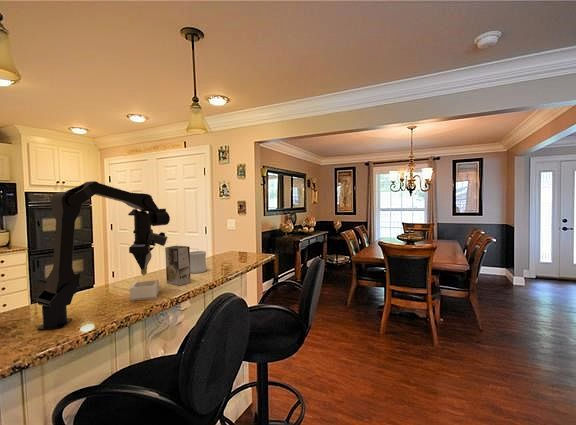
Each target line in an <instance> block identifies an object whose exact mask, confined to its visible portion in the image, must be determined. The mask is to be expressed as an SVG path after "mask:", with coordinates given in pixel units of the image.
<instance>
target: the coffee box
mask: <svg viewBox="0 0 576 425" xmlns="http://www.w3.org/2000/svg"><path fill="white" fill-rule="evenodd" d="M164 249H165V254H164V255H165V269H166V270H165V271H166V272H165V273H166V276H165V277H166V284H171V285H175V286H183V285H187V284H190V283H191V279H192V278H191V273H190V252H191V251H190V246H187V245H186V246H185V245H171V246H168V247H164Z"/></svg>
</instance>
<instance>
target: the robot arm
mask: <svg viewBox="0 0 576 425" xmlns="http://www.w3.org/2000/svg"><path fill="white" fill-rule="evenodd" d="M94 196H97V197H102V198H106V199H108V200H114V201H116V202H117V201H118V202H122V203H124V204H125V205H127V206H128V207H130V208H133V209H132V210H131V211H130V212H128V213H127V216H130V217H132V216H133V225H134V227H133V228H134V230H133V231H132V232H133V234H134V241H133V244H131V245H130V246H129V247H128V253H129V254H132V256H133V258H134V259H135V261H136V263H137V264H138V267H139V269H140V271H141V270H143V269H145V263H146V256H147V254H148V253H149V252H152V250H153V249H154V248H155V246H156V244H157V245H160V246H161V247H164V246H165V245H166V242H167V240H168V236H166V233H165V232H162V231H161V232H160V233H156V232H154V230H153V228H152V227H159V226H167V225H168V224H170V221H171V217H170V215H169V213H168V212H167V208H159V207H158V205H157V204H156V203H155V201H154V198H153V197H152V195H151V194H148V193H143V192H142V193H141V192H130V191H127V190H123V189H120V188H116V187H114V186H110V185H106V184H103V183H101V182H98V181H97V180H96V181H95V180H92V181H85V182H84V183H82V184H80V185H78V186H75V187H73V188H71V189H67V190H65V191H59V192H55V193H54V194H53V195H52V196H51V197H50V206H51V212H52V214H53V216H54V219H55V233H54V234H55V235H54V248H53V249H54V250H53V263H52V264H53V265H52V266H53V267H52V270H51V271H50V272H49V275H48V277H47V278H46V283H45V287H44V289H43V290H42V291H41V292H40V293H39V294H38V296H36V297H35V301H36V303H37V305H38V306H41V310H42V311H41V313H42V315H41V316H42V324H41V325H40V326H39V327H38V328H37V329H36V330H37V331H45V330H53V329H54V330H55V329H62V328H65V327H66V326H67V325H68V324H69V323H70V322H71V321H72V320H73V318H72V317H68V308H67V306H69V305H71V304H72V301H73V297H74V295H75V294H77V292H78V288H80V287H81V284H80V278H81V273H78V272H75V271H74V269H73V265H74V264H73V263H74V262H73V261H74V243H75V228H76V220H77V219H78V217H79V215H80V214H81V210H82V207H83V204H84V203H85V202H87V201H90V199H91V198H93V197H94Z"/></svg>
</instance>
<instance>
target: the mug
mask: <svg viewBox="0 0 576 425" xmlns="http://www.w3.org/2000/svg"><path fill="white" fill-rule="evenodd" d="M206 260H207V251H206V250H194V251H190V274H200V273H205V272H206V271H207V270H208V269H207V261H206Z"/></svg>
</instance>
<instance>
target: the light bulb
mask: <svg viewBox="0 0 576 425" xmlns="http://www.w3.org/2000/svg"><path fill="white" fill-rule="evenodd" d="M151 259H152V251H150V252H149V253H148V254H147V256H146V263H145V269H143V270H141V269H140V274H141V275H142V276H146V275H147V273H148V271H147V270H148V265H149V263H150V262H151Z"/></svg>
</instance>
